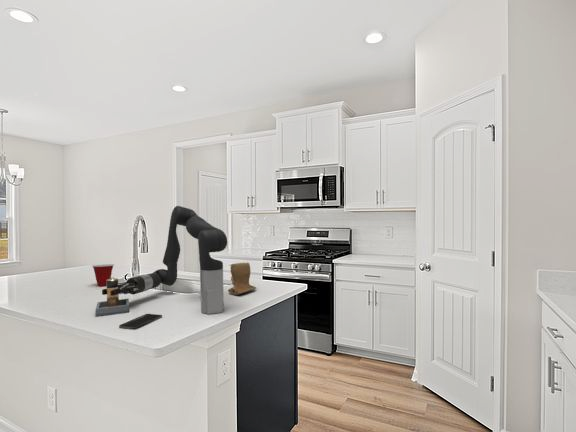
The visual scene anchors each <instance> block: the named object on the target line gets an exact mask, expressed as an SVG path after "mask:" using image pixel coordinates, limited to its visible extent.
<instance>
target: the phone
mask: <svg viewBox="0 0 576 432" xmlns="http://www.w3.org/2000/svg"><path fill="white" fill-rule="evenodd" d="M162 318H163V314H156V313H155V314H154V313H145V314H143V315H140V316H138V317H136V318H133V319H130V320H129V321H126V322H124V323H121V324H120V325H119V327H118V329H122V330H124V329H125V330H132V331H133V330H139V329H141V328H143V327H146V326H147V325H149V324H152V323H154V322H156V321H158V320H160V319H162Z"/></svg>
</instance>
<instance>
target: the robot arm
mask: <svg viewBox="0 0 576 432" xmlns="http://www.w3.org/2000/svg"><path fill="white" fill-rule="evenodd" d="M178 225H179V226H183V227H185V229H186V232H187V233H188V234H189V235H190V236H191V237H192V238H194V239H196V240H197V242H198V243H197V244H198V255H199V256H198V261H199V279H200V281H199V283H200V284H199V285H200V286H199V287H200V312H201V313H202V314H207V315H210V314H212V315H213V314H218V313H223V312H224V310H225V309H224V308H225V306H224V305H225V304H224V303H225V298H224V262H223V261H222V260H219V259H214V258H212V257H211V255H210V253H219V252H222V251H224V250H225V249H227V245H228V238H227V235H226V233H225V231H223V230H222V229H220V228H217V227H216V226H213V225H212V224H210V223H208V221H206V220H205V219H204V218H202V217H200V216H199V215H198V214H197V212H195V210H193V209H191V208H188V207H184V206H180V205H176V206H174V208H173V209H172V211H171V215H170V220H169V227H168V235H167V243H166V248H165V250H164V255H163V258H162V259H163V260H162V264H163V265H165V266H166V267H167V269H165V268H160V269H157V270H155V271H153V272H152V273H147V274H141V275H137V276H133V277H132V276H131V277H129V278H128V279H127V280H126V282H121V283H118V289H115V290H111V291H110V295H111V296H114V295H117V294H119V295H128V294H130V295H137V294H140V293H143V292H146V291H149V290H152V289H155V288H157V287H159V286H160V285H161V284H162V285H165V286H169V287H171V286H174V284H176V282H177V280H178V262H179V259H180V254H181V245H180V241H179V239H178V234H177V233H178V232H177V228H178ZM101 294H102V295H103V296H105V295H107V288H104V289H102V290H101Z"/></svg>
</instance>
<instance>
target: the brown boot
mask: <svg viewBox="0 0 576 432" xmlns="http://www.w3.org/2000/svg"><path fill="white" fill-rule="evenodd" d="M230 275H231V276H232V277H233V281H234V284H233V286H232V287H230V288H228V289H227V292H228V293H229V294H230V295H233V296H237V295H241V294H245V293H248V292H250V291H253V290H256V289H257V287H256V286H254V285H251V284H250V277H251V265H250V263H249V262H236V263H231V265H230Z"/></svg>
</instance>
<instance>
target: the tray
mask: <svg viewBox="0 0 576 432" xmlns="http://www.w3.org/2000/svg"><path fill="white" fill-rule="evenodd" d="M128 313H130V299H129V298H123V299H122V298H121V299H120V298H119V305H118V306H113V307H107V300H104V301H97V303H96V307H95V317H96V318H97V317H104V316H113V315H119V314H128Z"/></svg>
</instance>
